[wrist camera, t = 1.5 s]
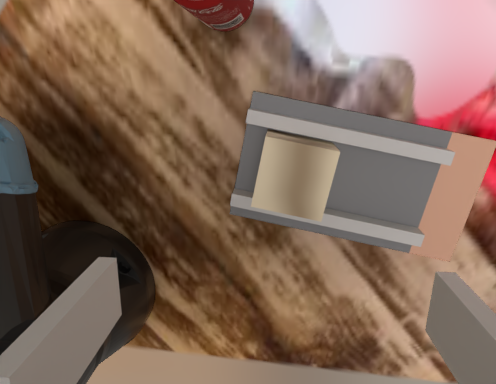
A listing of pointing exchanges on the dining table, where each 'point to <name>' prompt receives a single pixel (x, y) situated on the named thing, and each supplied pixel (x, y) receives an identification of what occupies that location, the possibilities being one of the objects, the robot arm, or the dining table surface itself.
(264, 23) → the dining table surface
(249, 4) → the soda can
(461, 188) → the chute
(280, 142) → the ash block
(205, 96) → the dining table surface
